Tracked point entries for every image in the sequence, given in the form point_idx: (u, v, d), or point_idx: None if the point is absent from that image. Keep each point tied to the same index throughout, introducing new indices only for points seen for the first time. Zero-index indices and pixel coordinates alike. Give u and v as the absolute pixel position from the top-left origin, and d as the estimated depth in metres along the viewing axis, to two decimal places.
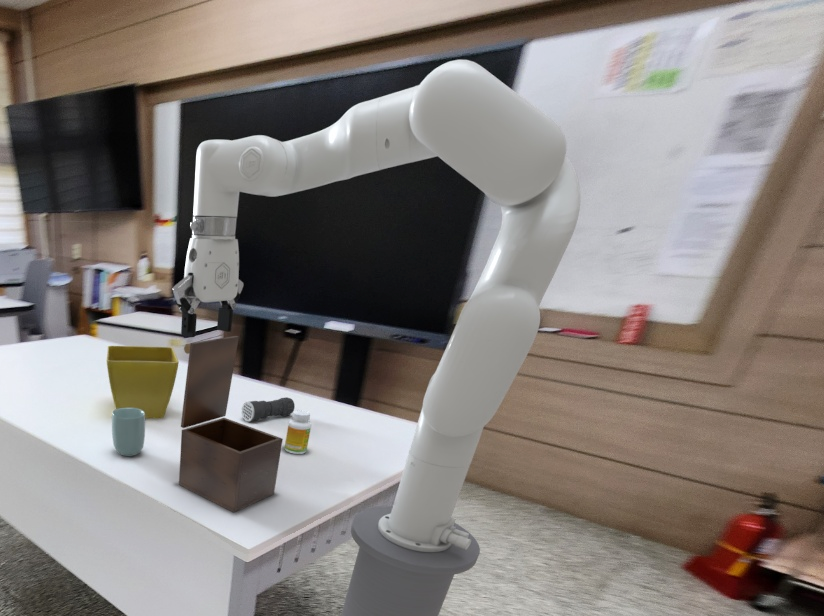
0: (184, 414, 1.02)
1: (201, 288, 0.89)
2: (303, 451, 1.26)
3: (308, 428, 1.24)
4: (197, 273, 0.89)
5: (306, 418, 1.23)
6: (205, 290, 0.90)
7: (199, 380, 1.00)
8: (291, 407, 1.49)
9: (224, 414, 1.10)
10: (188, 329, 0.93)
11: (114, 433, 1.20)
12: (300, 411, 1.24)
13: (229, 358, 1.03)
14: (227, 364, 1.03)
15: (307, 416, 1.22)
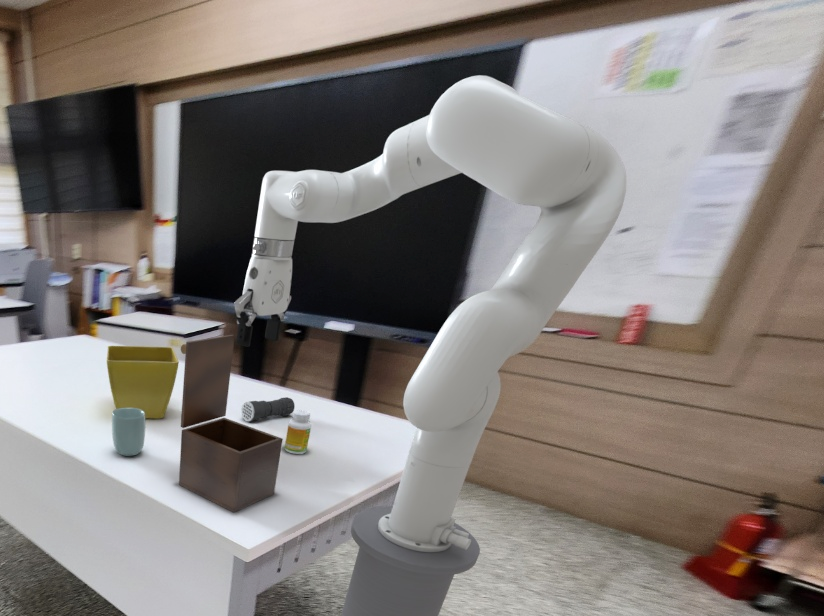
0: (183, 414, 1.02)
1: (260, 303, 0.99)
2: (303, 451, 1.26)
3: (308, 428, 1.24)
4: (257, 290, 0.98)
5: (306, 418, 1.23)
6: (263, 305, 0.99)
7: (197, 379, 1.00)
8: (291, 407, 1.49)
9: (224, 414, 1.10)
10: (244, 339, 1.03)
11: (114, 433, 1.20)
12: (300, 411, 1.24)
13: (226, 357, 1.03)
14: (224, 363, 1.03)
15: (307, 416, 1.22)
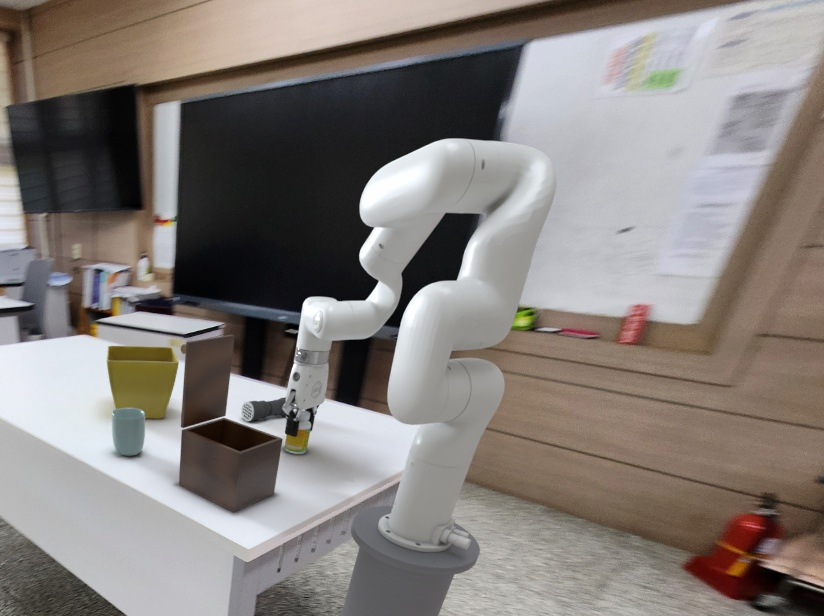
0: (183, 414, 1.02)
1: (301, 401, 1.17)
2: (303, 451, 1.26)
3: (308, 428, 1.24)
4: (299, 390, 1.16)
5: (306, 418, 1.23)
6: (304, 402, 1.18)
7: (197, 379, 1.00)
8: None
9: (224, 414, 1.10)
10: (292, 431, 1.23)
11: (114, 433, 1.20)
12: None
13: (226, 357, 1.03)
14: (224, 363, 1.03)
15: (307, 416, 1.22)
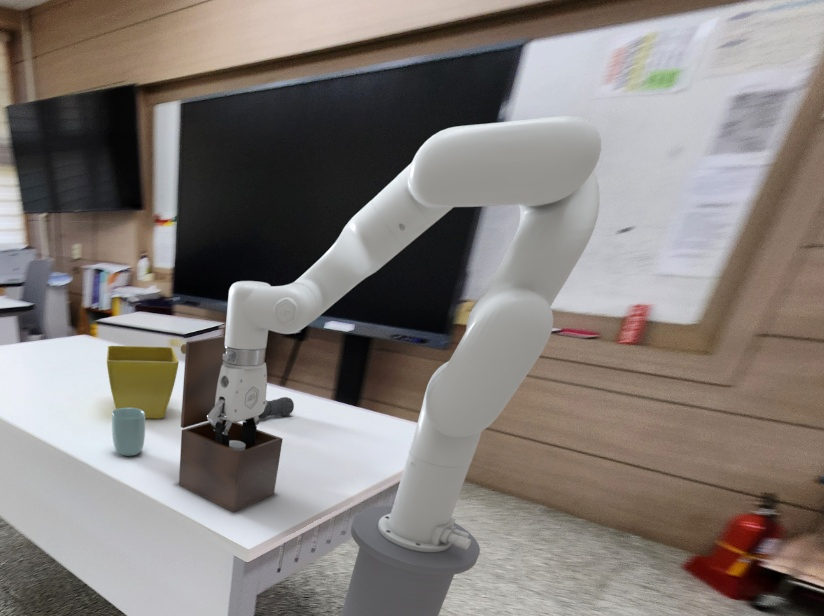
0: (183, 414, 1.02)
1: (232, 412, 0.94)
2: None
3: None
4: (228, 398, 0.94)
5: None
6: (236, 413, 0.95)
7: (197, 379, 1.00)
8: (290, 407, 1.49)
9: None
10: None
11: (114, 433, 1.20)
12: (235, 442, 1.04)
13: None
14: None
15: (241, 448, 1.02)
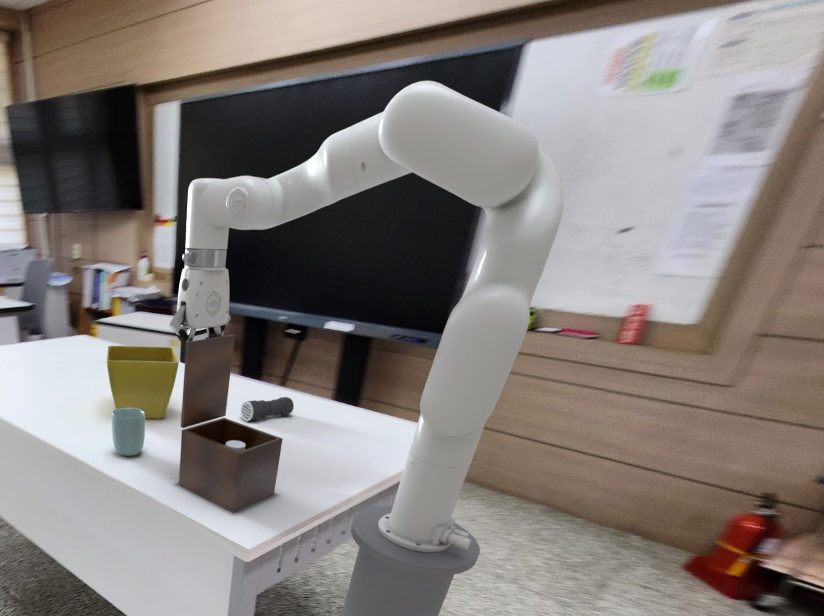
0: (183, 414, 1.02)
1: (193, 316, 0.94)
2: None
3: None
4: (189, 302, 0.93)
5: None
6: (197, 318, 0.95)
7: (197, 379, 1.00)
8: (290, 407, 1.49)
9: (224, 414, 1.10)
10: None
11: (114, 433, 1.20)
12: (234, 442, 1.04)
13: (226, 357, 1.03)
14: (224, 363, 1.03)
15: (241, 448, 1.02)
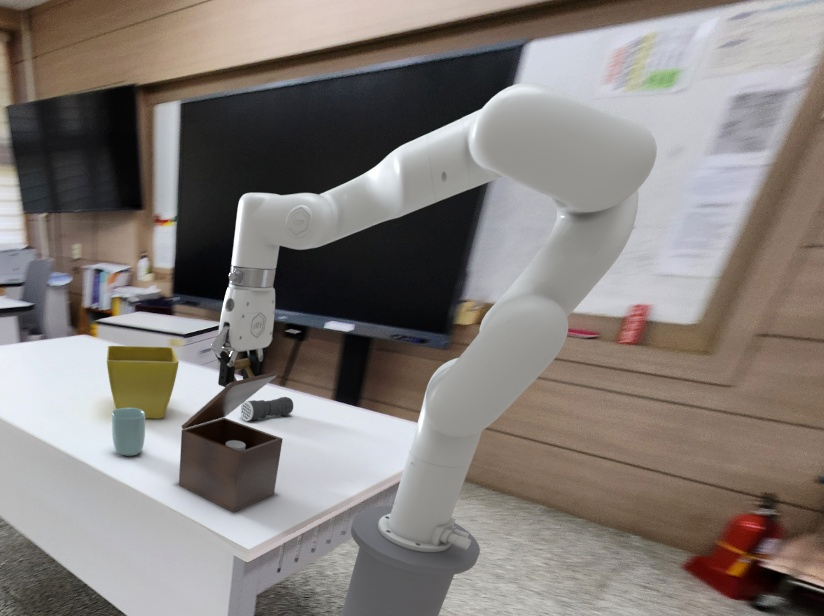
0: (190, 421, 1.01)
1: (237, 338, 0.88)
2: None
3: None
4: (234, 323, 0.87)
5: None
6: (241, 340, 0.89)
7: (220, 403, 0.98)
8: (290, 406, 1.49)
9: (224, 416, 1.10)
10: (226, 381, 0.94)
11: (114, 433, 1.20)
12: (234, 442, 1.04)
13: (258, 387, 1.00)
14: (252, 391, 1.00)
15: (241, 448, 1.02)
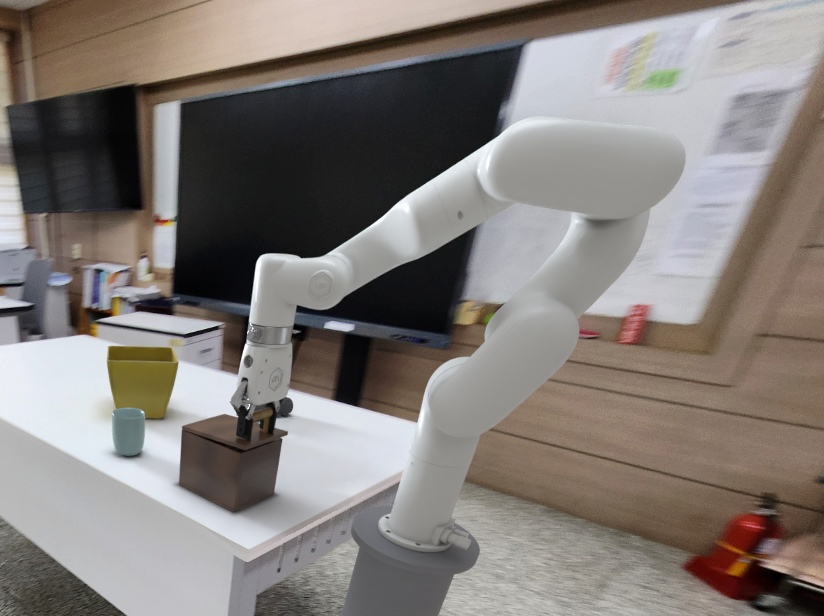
0: (192, 432, 1.02)
1: (255, 393, 0.89)
2: None
3: None
4: (252, 379, 0.88)
5: None
6: (259, 395, 0.89)
7: None
8: (290, 406, 1.49)
9: None
10: (244, 433, 0.94)
11: (114, 433, 1.20)
12: None
13: None
14: None
15: None
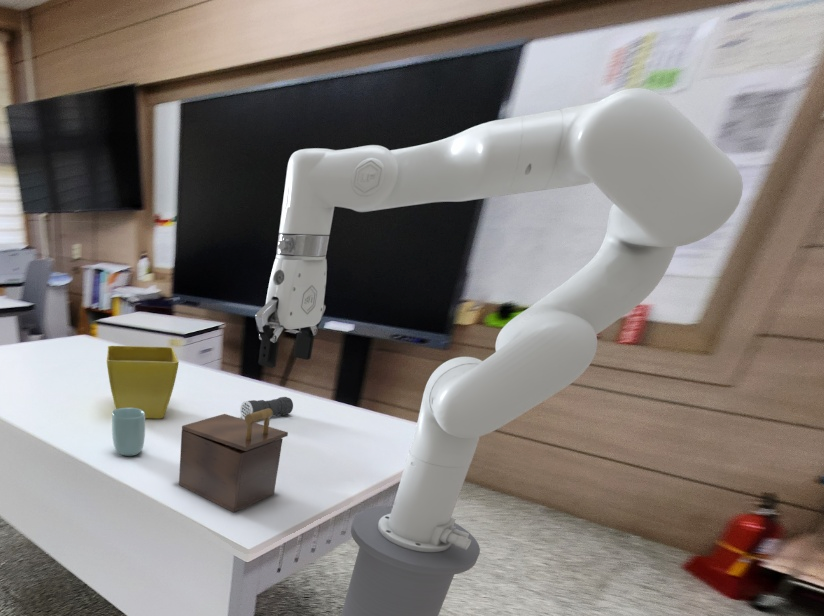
0: (192, 432, 1.02)
1: (287, 314, 0.80)
2: None
3: None
4: (283, 298, 0.79)
5: None
6: (291, 316, 0.80)
7: None
8: (289, 406, 1.49)
9: None
10: (268, 359, 0.84)
11: (114, 433, 1.20)
12: None
13: None
14: None
15: None
